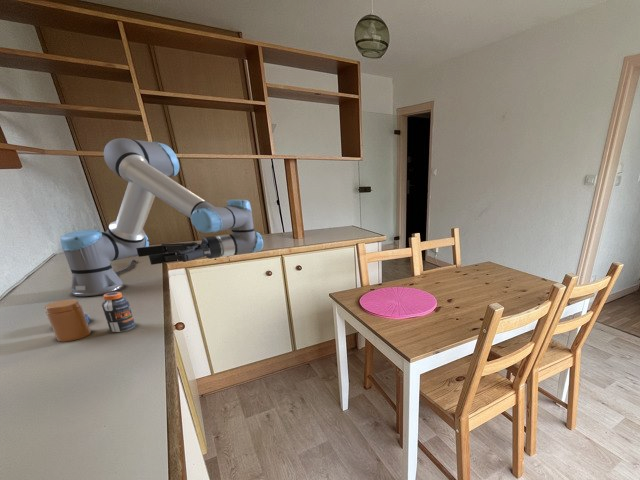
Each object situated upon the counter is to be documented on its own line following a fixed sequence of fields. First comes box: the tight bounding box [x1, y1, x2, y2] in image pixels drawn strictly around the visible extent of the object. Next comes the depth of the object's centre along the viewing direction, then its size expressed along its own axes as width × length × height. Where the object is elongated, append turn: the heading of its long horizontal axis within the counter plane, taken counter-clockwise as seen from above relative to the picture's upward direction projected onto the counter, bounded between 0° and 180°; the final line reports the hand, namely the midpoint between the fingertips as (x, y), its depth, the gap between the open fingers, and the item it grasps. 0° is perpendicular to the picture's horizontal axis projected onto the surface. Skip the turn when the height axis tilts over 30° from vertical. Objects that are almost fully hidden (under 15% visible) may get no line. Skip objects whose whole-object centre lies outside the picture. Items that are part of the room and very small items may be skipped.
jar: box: [44, 298, 92, 342], centre depth 89 cm, size 7×7×10 cm
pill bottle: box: [101, 291, 136, 333], centre depth 93 cm, size 6×6×11 cm
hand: (143, 256), depth 95 cm, fingers open, 13 cm apart
